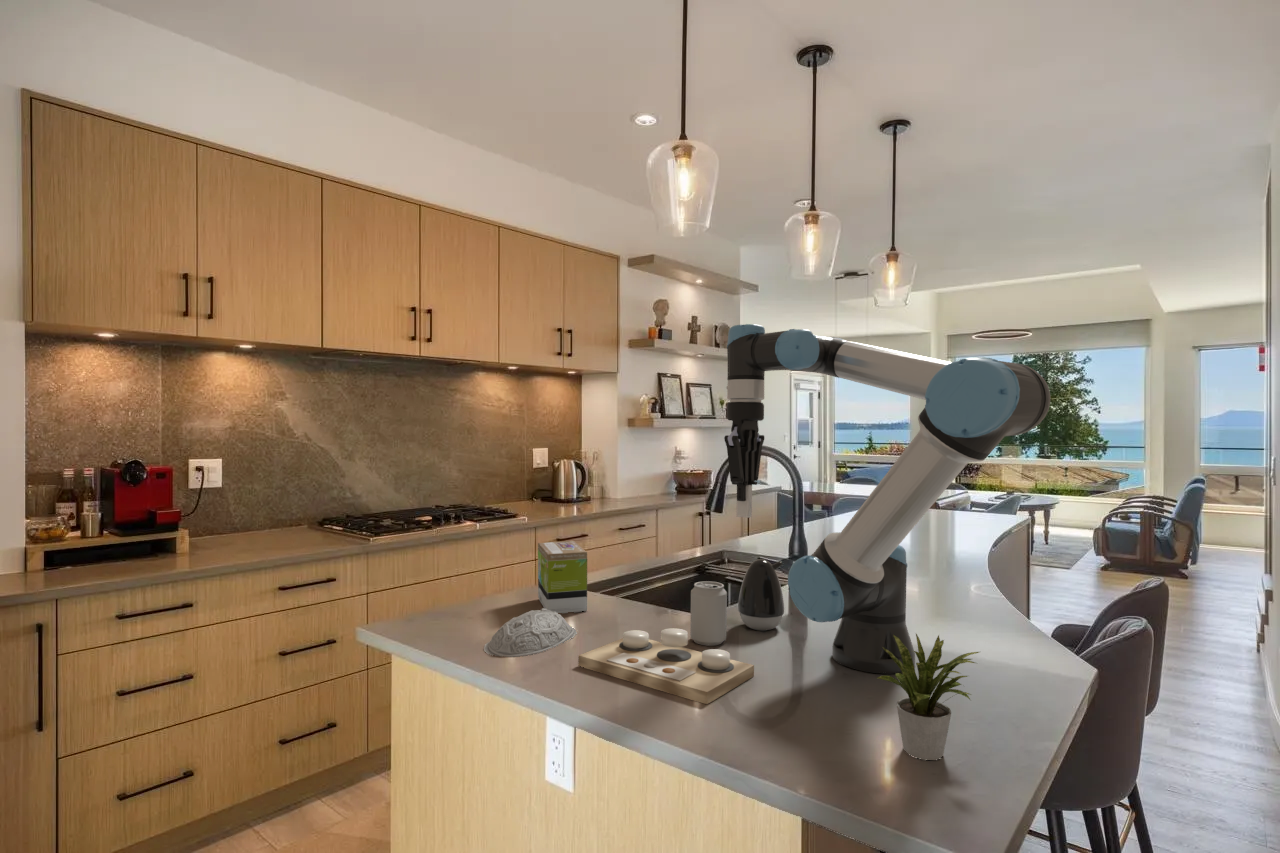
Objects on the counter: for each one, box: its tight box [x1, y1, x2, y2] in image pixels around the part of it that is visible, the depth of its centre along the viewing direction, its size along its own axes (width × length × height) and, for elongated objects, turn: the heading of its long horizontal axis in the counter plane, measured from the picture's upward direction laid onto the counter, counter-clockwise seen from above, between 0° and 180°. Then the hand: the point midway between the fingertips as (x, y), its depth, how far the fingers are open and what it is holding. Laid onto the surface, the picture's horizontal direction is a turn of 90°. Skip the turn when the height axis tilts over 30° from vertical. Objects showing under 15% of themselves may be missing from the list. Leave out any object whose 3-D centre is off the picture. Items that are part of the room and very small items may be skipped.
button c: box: [622, 629, 650, 649], centre depth 135 cm, size 5×5×2 cm
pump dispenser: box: [737, 558, 785, 632], centre depth 155 cm, size 10×10×15 cm
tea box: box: [537, 540, 588, 614], centre depth 171 cm, size 15×10×15 cm
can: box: [689, 580, 728, 647], centre depth 144 cm, size 8×8×12 cm
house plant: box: [877, 633, 980, 761], centre depth 95 cm, size 14×14×16 cm
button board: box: [577, 637, 755, 705], centre depth 127 cm, size 28×16×2 cm, turn 53°
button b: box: [660, 627, 689, 648], centre depth 129 cm, size 5×5×2 cm
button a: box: [701, 648, 731, 670], centre depth 124 cm, size 5×5×2 cm
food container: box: [483, 607, 578, 658], centre depth 145 cm, size 16×25×7 cm, turn 156°
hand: (744, 516), depth 142 cm, fingers closed
